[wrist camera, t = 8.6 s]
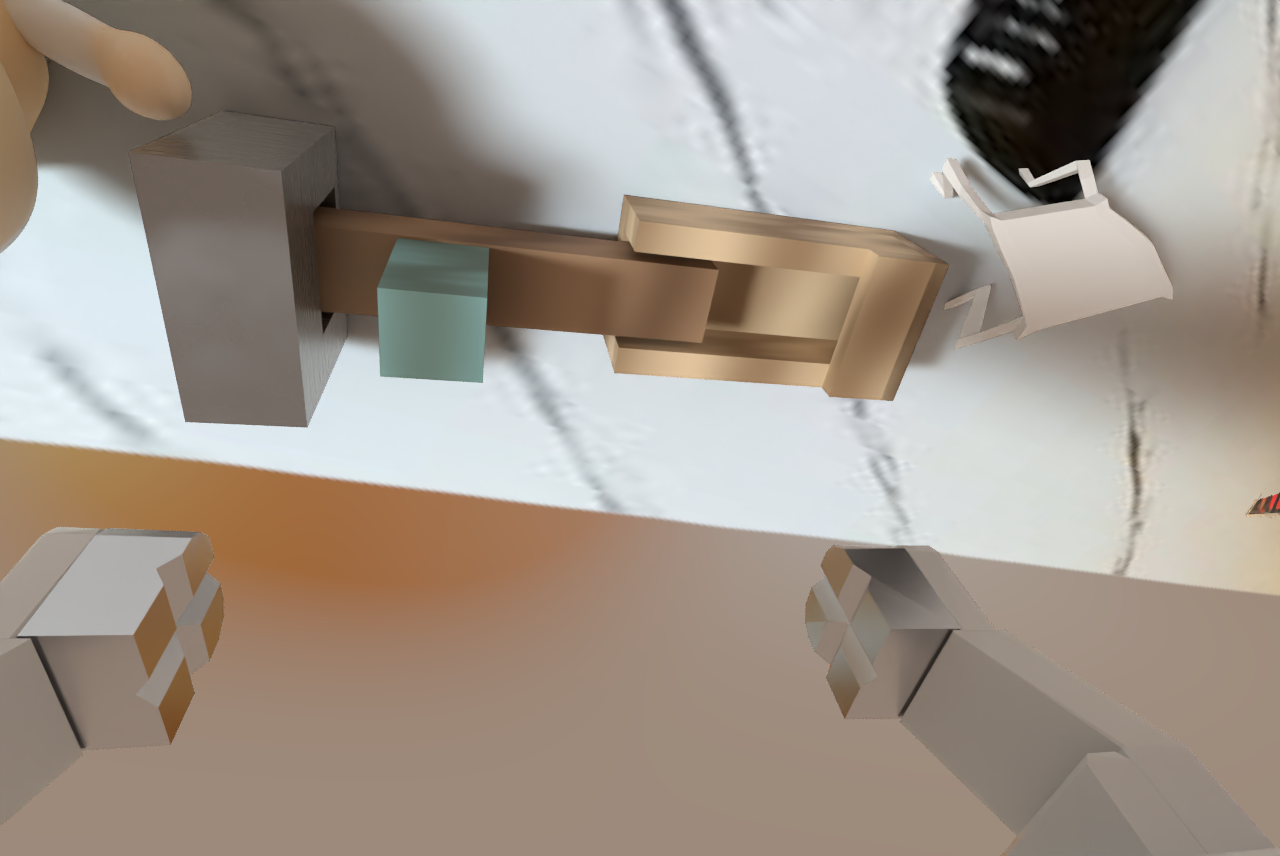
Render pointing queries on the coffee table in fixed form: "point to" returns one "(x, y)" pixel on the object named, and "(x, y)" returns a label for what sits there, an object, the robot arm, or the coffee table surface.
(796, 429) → the coffee table surface
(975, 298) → the origami figure
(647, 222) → the guide channel
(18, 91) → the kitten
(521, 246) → the slide bar
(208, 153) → the socket block
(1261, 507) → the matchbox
